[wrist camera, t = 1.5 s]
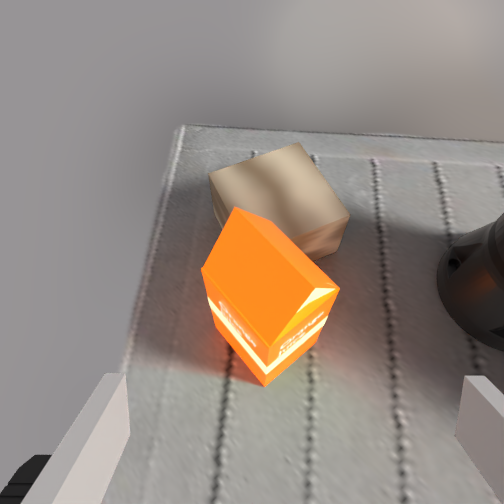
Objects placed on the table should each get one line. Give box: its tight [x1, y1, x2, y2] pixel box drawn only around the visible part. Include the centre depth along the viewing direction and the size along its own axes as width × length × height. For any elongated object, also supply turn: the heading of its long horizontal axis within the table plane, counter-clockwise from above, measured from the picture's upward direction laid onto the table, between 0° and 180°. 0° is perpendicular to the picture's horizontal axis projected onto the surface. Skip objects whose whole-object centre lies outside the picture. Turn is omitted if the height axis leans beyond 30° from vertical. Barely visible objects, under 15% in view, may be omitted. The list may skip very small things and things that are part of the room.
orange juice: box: [201, 207, 340, 387], centre depth 36 cm, size 8×9×20 cm
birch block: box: [208, 142, 350, 261], centre depth 48 cm, size 12×12×8 cm
